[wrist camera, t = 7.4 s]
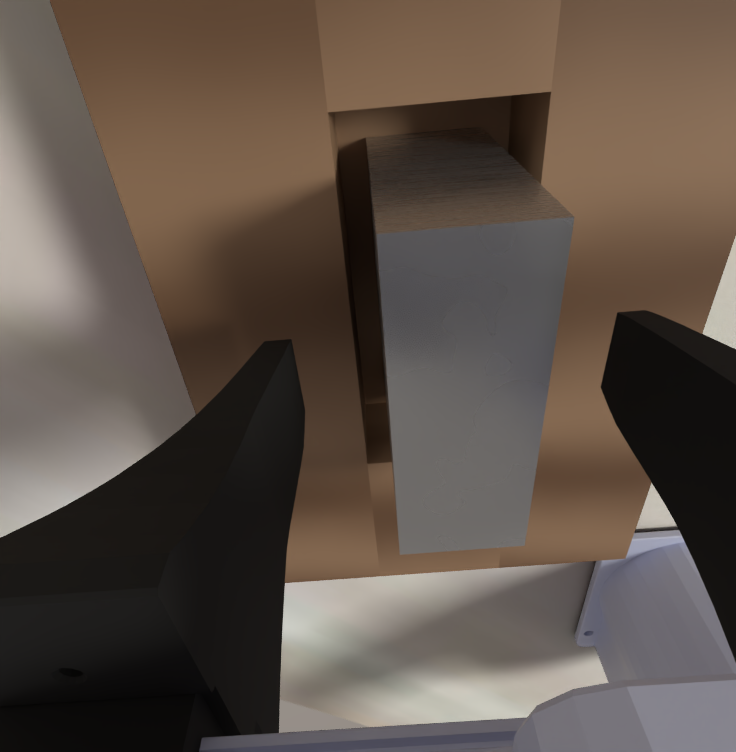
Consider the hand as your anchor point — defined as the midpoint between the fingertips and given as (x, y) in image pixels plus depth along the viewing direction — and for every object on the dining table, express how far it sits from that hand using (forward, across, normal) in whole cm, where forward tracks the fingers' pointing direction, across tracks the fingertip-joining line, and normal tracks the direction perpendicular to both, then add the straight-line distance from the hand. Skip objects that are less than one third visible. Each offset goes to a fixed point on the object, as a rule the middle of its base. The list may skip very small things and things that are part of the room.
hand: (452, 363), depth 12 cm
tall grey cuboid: (+5, 0, 0) cm, 5 cm away
